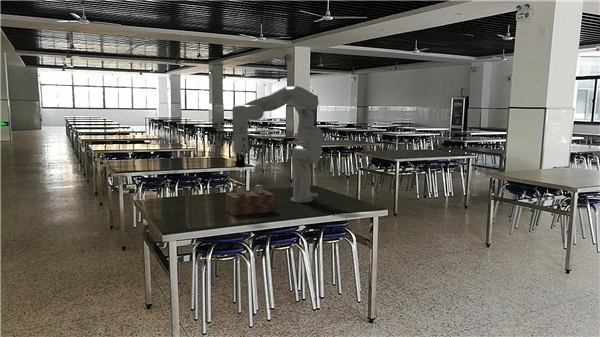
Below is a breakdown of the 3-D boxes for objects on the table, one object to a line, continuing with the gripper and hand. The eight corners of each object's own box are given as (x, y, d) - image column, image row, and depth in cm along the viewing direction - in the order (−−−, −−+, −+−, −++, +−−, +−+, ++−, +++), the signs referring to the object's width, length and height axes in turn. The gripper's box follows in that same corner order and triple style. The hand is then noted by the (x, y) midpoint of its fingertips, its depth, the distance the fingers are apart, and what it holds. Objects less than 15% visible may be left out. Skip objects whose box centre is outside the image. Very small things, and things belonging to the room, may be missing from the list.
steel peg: (261, 199, 239) (261, 184, 238) (264, 201, 236) (264, 185, 234) (254, 200, 237) (254, 185, 236) (256, 201, 234) (256, 186, 233)
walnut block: (265, 206, 245) (265, 190, 244) (274, 211, 234) (274, 194, 233) (225, 210, 235) (225, 193, 234) (233, 215, 225) (232, 197, 224)
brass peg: (243, 201, 235) (243, 185, 234) (245, 202, 231) (245, 187, 230) (235, 201, 233) (235, 186, 232) (238, 203, 229) (238, 187, 228)
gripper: (253, 131, 221) (253, 168, 224) (242, 129, 236) (242, 164, 238) (238, 131, 218) (238, 169, 221) (228, 129, 233) (228, 165, 235)
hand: (240, 166), depth 230 cm, fingers open, 3 cm apart
